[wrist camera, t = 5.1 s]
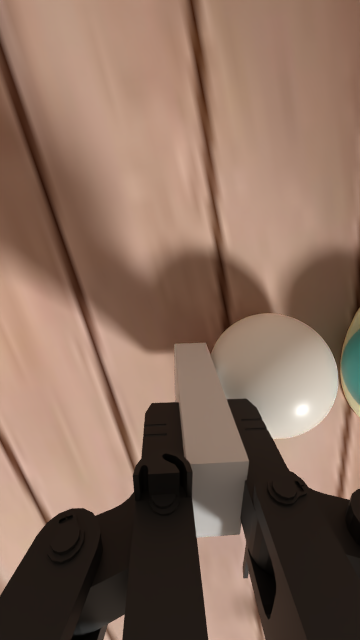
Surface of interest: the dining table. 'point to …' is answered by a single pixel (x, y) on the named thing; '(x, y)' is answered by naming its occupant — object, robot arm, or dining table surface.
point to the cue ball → (278, 371)
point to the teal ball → (352, 366)
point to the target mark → (356, 324)
